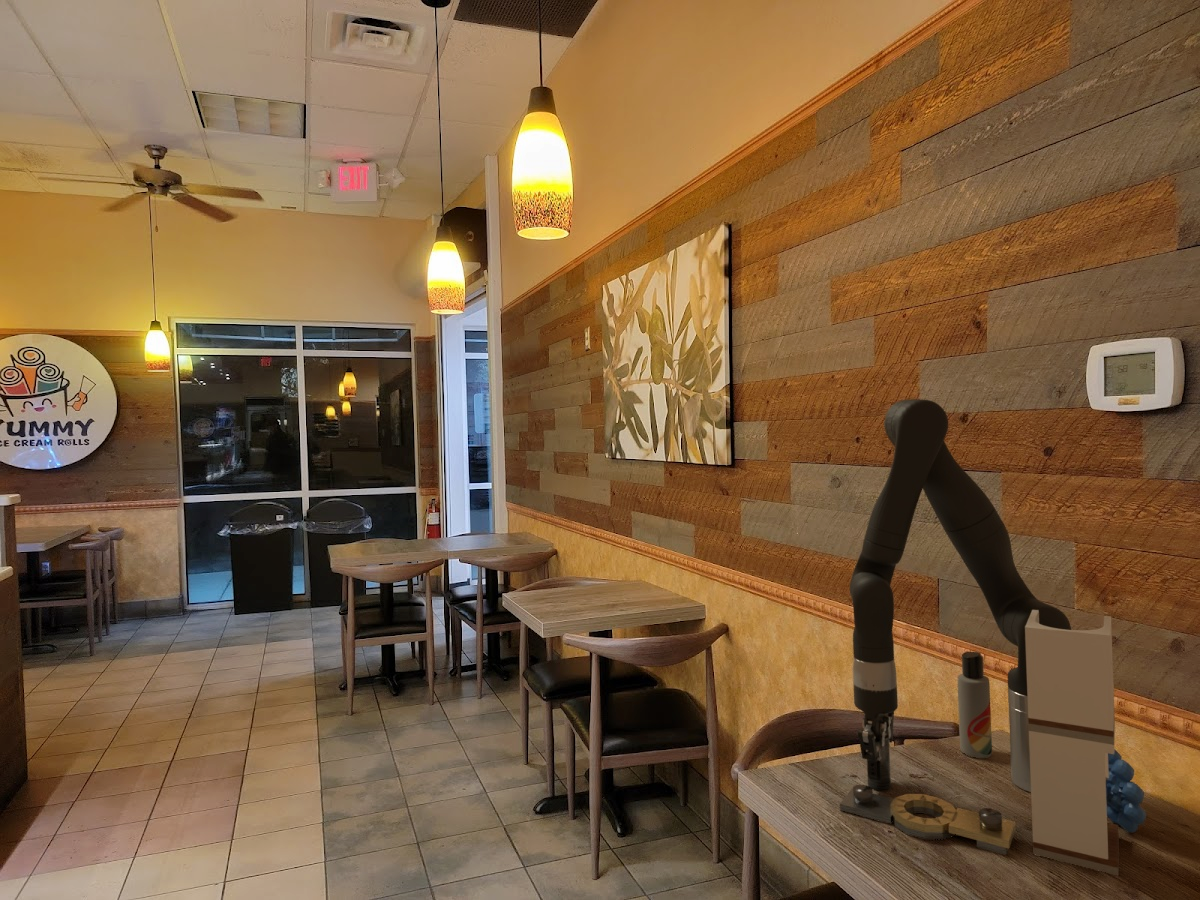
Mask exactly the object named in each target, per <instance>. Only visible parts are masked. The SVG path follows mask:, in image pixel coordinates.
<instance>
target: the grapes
mask: <svg viewBox="0 0 1200 900" xmlns="http://www.w3.org/2000/svg"><path fill="white" fill-rule="evenodd" d="M1108 771H1109V779H1106V804H1107V819H1109V820H1110V821H1111V822H1113V824H1116V825H1118V826H1120V827H1121V828H1122V829H1123V830H1125V831H1126V832H1128V833H1132V834H1133V833H1135V832H1136V831H1137V830H1138V828H1139V826H1141V825H1142V824H1144V823H1145V820H1146V818H1147V817H1146V816H1147V812H1146V811H1145V809H1143V807H1142V806H1141V805H1140V804H1141V803H1142V802H1143V800H1144V797H1145V792H1144V790H1143V789H1142V788H1141V787H1140V785H1138V783H1135V782H1134V781H1132V780H1134V779H1133V778H1134V776H1135V769H1134V768H1133V766H1132V765H1131V764H1130V763H1129V762H1128V761H1126V760H1124V759H1123V758H1122V755H1121V754H1120V753H1119V752H1118V751H1117V750H1116V749H1115V748H1114V754H1109V753H1108Z"/></svg>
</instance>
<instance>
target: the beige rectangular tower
mask: <svg viewBox="0 0 1200 900" xmlns="http://www.w3.org/2000/svg"><path fill="white" fill-rule="evenodd" d="M1112 626H1113V625H1112V616H1111V615H1104V616H1103V626H1102V627H1100V628H1096V629H1085V630H1084V629H1083V630H1082V629H1081V630H1077V629H1071V630H1065V629H1057V628H1052V627H1047V626H1044V625H1041V624H1039V610H1032V612H1031V614H1030V617H1029V619H1028V621H1027V624H1026V626H1025V641H1026V668H1027V695H1028V722H1029V749H1030V776H1031V792H1030V794H1031V795H1030V797H1031V799H1030V800H1031V822H1032V823H1031V824H1032V826H1031V827H1032V828H1031V829H1032V853H1033V854H1034V855H1033V856H1036V855H1040V856H1045V857H1049V858H1051V859H1050V860H1052V859H1054V860H1053V861H1056V860H1057V861H1056V862H1061V863H1064V862H1066V863H1065V864H1068V863H1070V864H1069V865H1072V864H1076V865H1079V866H1078V867H1080V866H1084V867H1086V868H1085V869H1088V868H1091V869H1090V870H1092V869H1095V870H1094V871H1097V870H1099V871H1098V872H1101V871H1102V872H1101V873H1105V872H1106V873H1105V874H1109V875H1113V876H1117V877H1119V857H1120V856H1119V845H1120V844H1119V841H1120V840H1119V837H1120V836H1119V824H1116V823H1110V822H1108V816H1107V804H1106V779H1109V771H1108V753H1109V754H1114V749H1115V742H1116V741H1115V735H1116V734H1115V733H1116V720H1115V718H1116V717H1115V716H1116V715H1115V692H1114V691H1115V688H1114V687H1115V686H1114V661H1113V660H1114V659H1113V657H1114V656H1113V632H1112V631H1113V630H1112ZM1035 854H1036V855H1035ZM1040 856H1039V857H1040ZM1076 865H1075V866H1076ZM1084 867H1083V868H1084Z"/></svg>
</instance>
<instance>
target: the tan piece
mask: <svg viewBox="0 0 1200 900" xmlns="http://www.w3.org/2000/svg"><path fill="white" fill-rule="evenodd" d="M840 810H842V811H841V812H843V811H845V812H844V813H847V812H849V813H848V814H851V813H853V814H852V815H854V814H856V815H855V816H858V815H860V816H859V817H862V816H863V817H862V818H866V817H867V818H866V819H869V818H870V820H873V819H874V821H878V820H879V821H878V822H880V821H881V822H880V823H884V822H887V823H886V824H888V823H890V824H889V825H892V823H894V824H893V825H895V826H894V828H896V829H898V830H899V831H901V832H902V831H903V834H906V835H907V836H910V837H914V836H915V838H917V837H918V839H921V840H924V841H925V840H926V841H927V840H928V841H930V840H931V841H932V840H933V841H944V840H947V839H950V838H952V837H955V836H959V837H960V836H961V837H964V838H967V839H972V840H975V841H976V848H978V849H981V850H985V851H989V852H991V853H995V854H999V855H1002V856H1006V855H1007V853H1008V850H1009V849H1010V847H1011V845H1012V841H1013V838H1014V835H1015V833H1016V829H1017V827H1016V821H1014V820H1010V819H1006V818H1003V814H1002V813H1001V812H1000V811H999V810H997V809H993V808H990V807H983V808H980V809H979V810H978V812H977V811H973V810H968V809H965V808H959V807H957V808H955V805H953V804H952V803H950V802H948V801H946V800H944V799H942V798H940V797H937V796H932V795H929V794H925V793H906V794H903V795H898V796H895V797H894V798H892V797H888V796H884V795H880V794H876V793H874V791H873V789H872V788H871V787H869V786H868V784H867V785H866V784H856V785H854V786H853V787H852V788H851V789H850V791H849V792H848V793H847V794H846V795H845V797H844V798H843V799H842V800H841V802H840V803H839V811H840ZM914 813H915V815H914ZM916 813H924V814H923V815H927V814H929V815H928V816H931V815H932V817H934V816H935V818H927V817H926V818H924V817H921V816H916ZM936 817H937V818H936ZM892 821H893V822H892ZM955 834H956V835H955ZM954 835H955V836H954ZM951 836H952V837H951ZM949 837H950V838H949ZM946 838H947V839H946ZM935 839H936V840H935ZM937 839H938V840H937ZM940 839H941V840H940ZM943 839H944V840H943Z"/></svg>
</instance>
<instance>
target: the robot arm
mask: <svg viewBox="0 0 1200 900" xmlns="http://www.w3.org/2000/svg"><path fill="white" fill-rule="evenodd" d="M883 424H884V425H883V427H884V431H885V433H886V436H887V437H888V439H889V442H891V443H892V445H893V447H894V454H893V460H892V463H891V466H890V467H891V468H890V470H889V474H888V477H887V479H886V481H885V484H884V486H883V488H882V490H881V491H880V494H879V496H878V497H877V499H876V501H875V502H874V503H875V504H874V506H873V508H872V511H871V514H870V517H869V520H868V524H867V528H866V531H865V535H864V539H863V543H862V547H861V552H860V554H859V557H858V559H857V561H856V564H855V567H854V569H853V572H852V576H851V579H850V582H849V594H850V597H851V601H852V607H853V609H852V610H853V622H854V623H853V624H854V628H853V631H852V650H853V661H852V663H853V664H852V683H853V684H852V685H853V703H854V707H856V709H857V710H859V711H862V713H863V714H864V716H863V718H862V721H861V722H862V723H861V724H862V725H861V726H862V728H863V730H862V729H859V730H858V731H857V735H858V743H859V746H860V747H859V749H860V752H861V757H862V759H864V760H866V762H867V761H868V777H869V778H870V779H873V780H877V781H880V780H881V778H882V773H881V748H882V747H884V739H885V735H886V736H888V737H889V750H890V748H891V743H893V741H894V739H893V736H894V719H895V718H894V716H895V711H897V709H898V708H899V707H898V706H899V703H898V701H899V700H898V684H897V683H898V682H897V679H898V678H897V668H896V661H895V648H894V647H895V645H894V636H893V635H894V633H893V627H894V613H895V600H894V598H895V597H894V592H893V589H892V587H891V585H892V580H893V577H894V573H895V569H896V566H897V564H898V563H900V561H901V559H902V557H903V555H904V552H905V548H906V544H907V541H908V538H909V534H910V530H911V527H912V526H911V525H912V523H913V519H914V516H915V511H916V509H917V505H918V502H919V499H920V496H921V494H922V492H924V494H925V496H926V498H927V500H928V502H929V504H930V506H931V507H932V509H933V511H934V514H935V515H936V517H937V519H938V521H939V523H940V525H941V526H942V528H943V530H944V532H945V533H946V535H947V537H948V538H949V540H950V542H951V544H952V546H953V547H954V548H955V550H956V551H957V553H958V554H959V556H960V558H961V560H962V561H963V564H965V566H966V568H967V570H968V571H969V573H970V574H971V576H972V578H974V580H975V582H976V583H977V584H978V586H979V588H980V590H981V592H982V594H983V596H984V599H985V601H986V602H987V605H988V607H989V609H990V612H991V613H992V617H993V618H994V621H995V624H996V626H997V627H998V629H999V631H1000V633H1001V634H1002V636H1003V637H1004V638H1005V639H1006V640H1007V641H1008V642H1009V643H1011V644H1013V646H1016V647H1017V649H1018V650H1017V667H1014V668H1011V669H1010V670H1009V671H1008V673H1007V693H1008V694H1007V695H1008V696H1007V697H1008V698H1007V699H1008V701H1007V702H1008V719H1009V720H1008V722H1009V723H1008V724H1009V725H1008V727H1009V748H1010V750H1009V751H1010V775H1011V781H1012V783H1013V784H1014V785H1015V786H1016V787H1018V788H1020V789H1021V790H1024V791H1026V792H1029V793H1031V776H1030V749H1029V722H1028V695H1027V668H1026V641H1025V626H1026V624H1027V621H1028V619H1029V617H1030V614H1031V612H1032V610H1039V624H1041V625H1044V626H1047V627H1052V628H1057V629H1065V630H1072V626H1071V623H1070V621H1069V618H1068V617H1067V615H1066V614H1065V613H1064V612H1063V611H1062V610H1061V609H1059V608H1057V607H1054V606H1053V605H1050V604H1048V603H1045V602H1043V601H1041V600H1039V599H1038V598H1037V597H1036V596H1035V595H1034V594H1033V593H1032V591H1031V589H1029V587H1028V586H1027V585H1026V583H1025V581H1024V580H1023V578H1022V577H1021V575H1020V573H1019V571H1018V570H1017V567H1016V565H1015V562H1014V556H1013V551H1012V548H1013V547H1012V543H1011V542H1012V541H1011V537H1010V535H1009V531H1008V530H1007V527H1006V526H1005V524H1004V521H1003V520H1002V518H1001V516H1000V515H999V513H998V511H997V509H996V508H995V506H994V505H993V503H992V501H991V500H990V498H989V497H988V495H987V494H986V493H985V492H984V490H982V488H981V487H980V486H979V485H978V484H977V482H976V481H975V480H974V479H973V478H971V476H970V475H969V474H968V473H967V472H966V471H965V470H964V468H963V467H961V466H960V464H959V463H958V462H957V461H956V458H954V456H953V455H952V454H951V453H952V452H951V451H950V450H949V448H948V445H947V444H946V442H945V438H946V436H947V433H948V431H949V419H948V416H947V413H946V411H945V410H944V408H943V407H942V406H941V405H940V404H938V403H936V402H935V401H932V400H929V399H923V398H920V399H916V398H910V399H903V400H900V401H897V402H895V403H893V404H892V405H891V406H890V407H889V408H888V410H887V411H886V414H885V417H884V423H883ZM875 739H876V740H880V741H879V742H875ZM870 751H872V752H870ZM868 777H867V778H868Z"/></svg>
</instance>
